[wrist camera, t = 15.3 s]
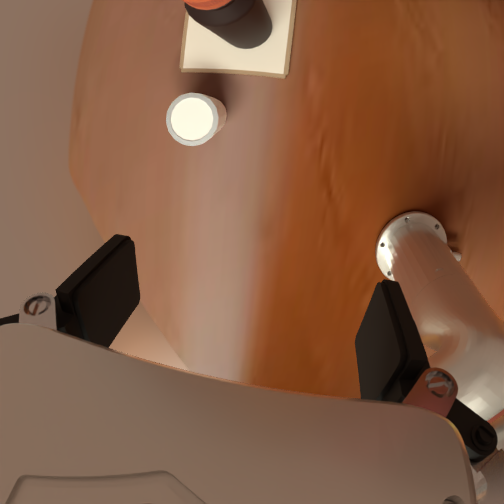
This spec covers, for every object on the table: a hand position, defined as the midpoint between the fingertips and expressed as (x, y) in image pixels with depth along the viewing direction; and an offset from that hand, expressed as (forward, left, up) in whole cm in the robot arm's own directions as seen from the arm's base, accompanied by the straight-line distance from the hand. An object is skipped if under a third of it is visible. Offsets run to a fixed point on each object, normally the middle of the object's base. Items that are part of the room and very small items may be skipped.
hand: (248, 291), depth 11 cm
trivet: (+9, -17, -34) cm, 39 cm away
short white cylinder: (+12, -3, -34) cm, 37 cm away
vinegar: (+8, -16, -34) cm, 38 cm away
